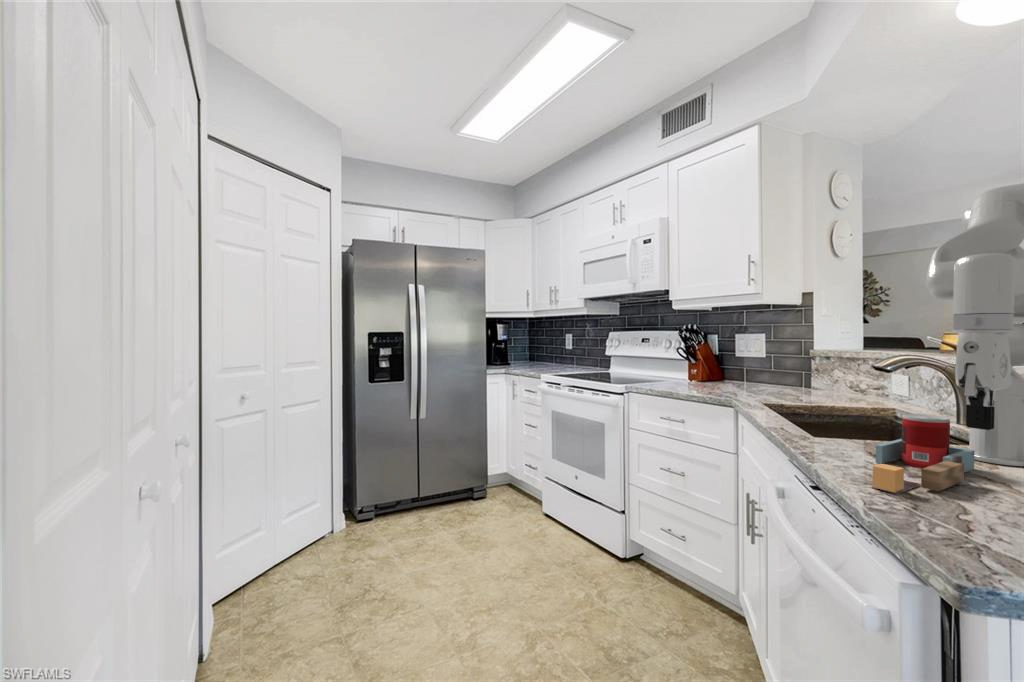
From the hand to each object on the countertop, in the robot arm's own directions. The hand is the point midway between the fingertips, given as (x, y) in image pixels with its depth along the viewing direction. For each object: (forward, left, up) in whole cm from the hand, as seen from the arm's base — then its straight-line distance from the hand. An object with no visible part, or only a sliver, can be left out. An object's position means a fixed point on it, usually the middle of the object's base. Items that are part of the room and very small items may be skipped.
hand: (979, 428), depth 82 cm
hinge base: (-9, -6, -13) cm, 17 cm away
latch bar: (-4, -6, -12) cm, 14 cm away
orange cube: (+8, -10, -13) cm, 18 cm away
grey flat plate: (+4, -10, -13) cm, 17 cm away
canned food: (-19, -14, -13) cm, 27 cm away
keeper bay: (-18, -14, -13) cm, 26 cm away
